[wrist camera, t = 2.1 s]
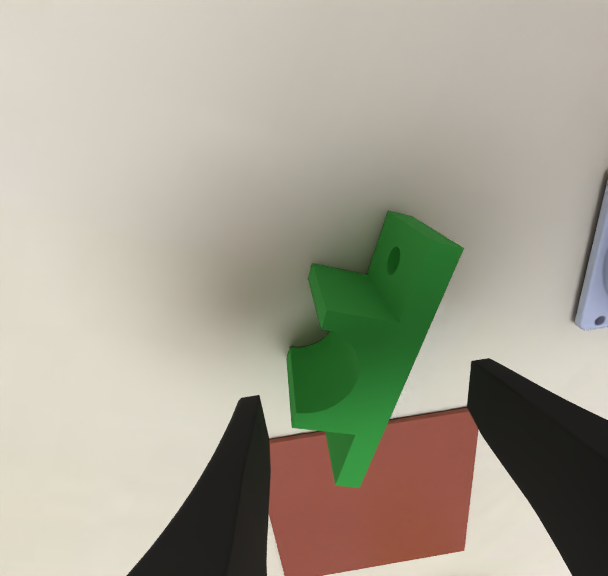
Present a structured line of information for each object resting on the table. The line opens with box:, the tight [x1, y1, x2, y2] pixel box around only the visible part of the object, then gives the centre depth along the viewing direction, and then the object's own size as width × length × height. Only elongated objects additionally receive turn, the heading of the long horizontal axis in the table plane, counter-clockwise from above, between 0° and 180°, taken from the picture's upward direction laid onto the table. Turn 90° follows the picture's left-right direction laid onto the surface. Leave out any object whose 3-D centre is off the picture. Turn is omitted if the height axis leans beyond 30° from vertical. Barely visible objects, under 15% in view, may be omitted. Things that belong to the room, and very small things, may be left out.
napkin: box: [269, 408, 478, 576], centre depth 23 cm, size 13×14×1 cm
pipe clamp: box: [287, 211, 464, 488], centre depth 15 cm, size 11×4×5 cm, turn 166°
